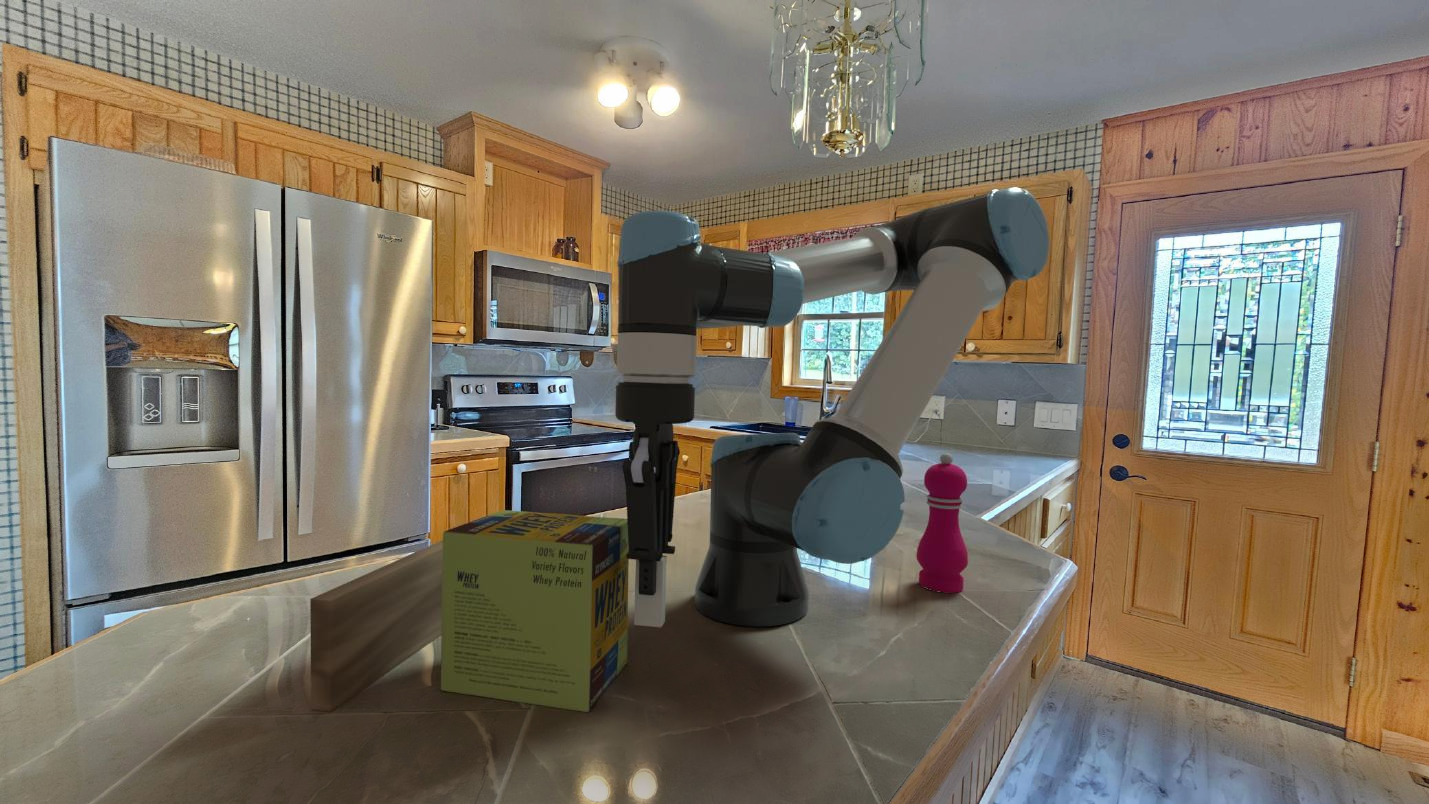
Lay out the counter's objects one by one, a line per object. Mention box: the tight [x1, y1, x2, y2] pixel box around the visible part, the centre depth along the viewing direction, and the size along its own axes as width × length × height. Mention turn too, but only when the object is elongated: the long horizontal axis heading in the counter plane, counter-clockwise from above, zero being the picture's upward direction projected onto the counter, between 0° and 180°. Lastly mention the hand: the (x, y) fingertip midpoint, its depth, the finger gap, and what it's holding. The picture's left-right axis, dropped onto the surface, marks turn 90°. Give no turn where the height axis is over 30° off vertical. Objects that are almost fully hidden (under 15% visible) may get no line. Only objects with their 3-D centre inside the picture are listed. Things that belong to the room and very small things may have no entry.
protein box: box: [440, 509, 630, 713], centre depth 62 cm, size 10×15×16 cm
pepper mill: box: [916, 452, 969, 594], centre depth 93 cm, size 7×7×20 cm
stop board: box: [309, 539, 443, 713], centre depth 65 cm, size 2×20×10 cm, turn 171°
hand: (649, 622), depth 61 cm, fingers closed
